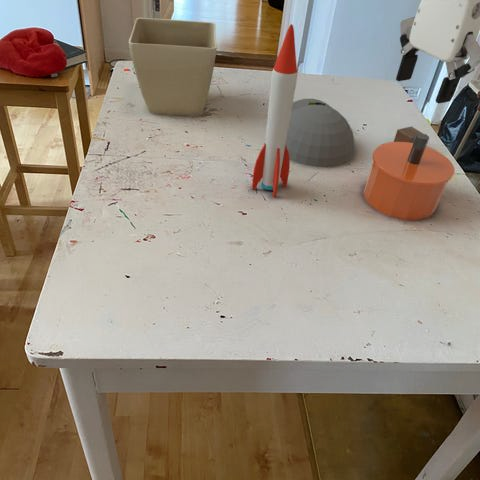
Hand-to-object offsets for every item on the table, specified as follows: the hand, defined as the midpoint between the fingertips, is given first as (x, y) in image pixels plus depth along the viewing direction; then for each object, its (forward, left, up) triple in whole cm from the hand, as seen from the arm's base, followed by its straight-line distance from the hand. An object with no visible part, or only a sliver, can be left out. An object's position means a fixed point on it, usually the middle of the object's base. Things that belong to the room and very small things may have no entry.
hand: (422, 90), depth 82 cm
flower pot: (+22, -55, -22) cm, 63 cm away
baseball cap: (0, -26, -22) cm, 34 cm away
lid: (-2, +2, -13) cm, 13 cm away
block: (-19, -14, -22) cm, 32 cm away
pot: (-2, +2, -22) cm, 22 cm away
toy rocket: (+21, -12, -22) cm, 33 cm away
